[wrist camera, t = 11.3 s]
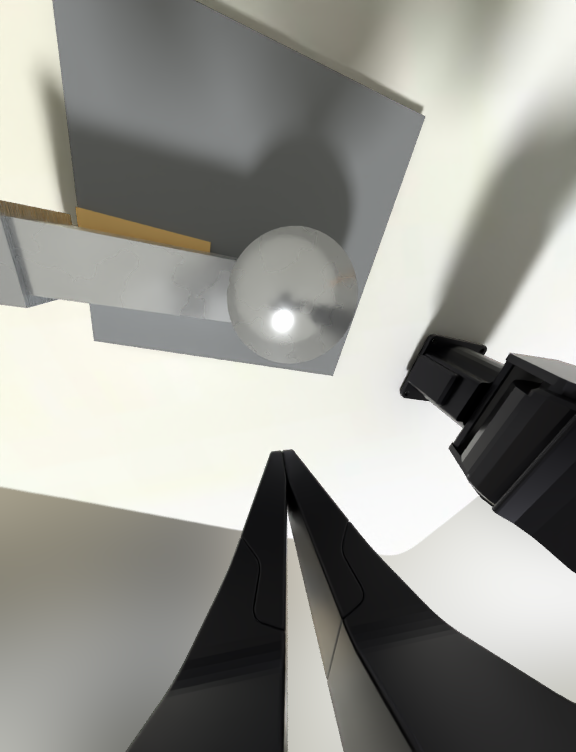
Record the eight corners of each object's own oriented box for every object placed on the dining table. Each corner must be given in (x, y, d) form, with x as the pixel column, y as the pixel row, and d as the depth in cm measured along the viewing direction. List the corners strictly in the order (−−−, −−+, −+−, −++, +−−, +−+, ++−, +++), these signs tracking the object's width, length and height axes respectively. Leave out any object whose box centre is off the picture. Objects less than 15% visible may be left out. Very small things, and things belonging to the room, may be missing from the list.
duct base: (418, 121, 14) (458, 92, 12) (330, 372, 21) (342, 389, 19) (54, -59, 10) (-17, -174, 7) (98, 337, 17) (71, 354, 14)
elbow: (344, 245, 15) (377, 243, 12) (319, 345, 19) (338, 370, 15) (39, 173, 12) (-60, 136, 8) (70, 314, 15) (10, 337, 11)
